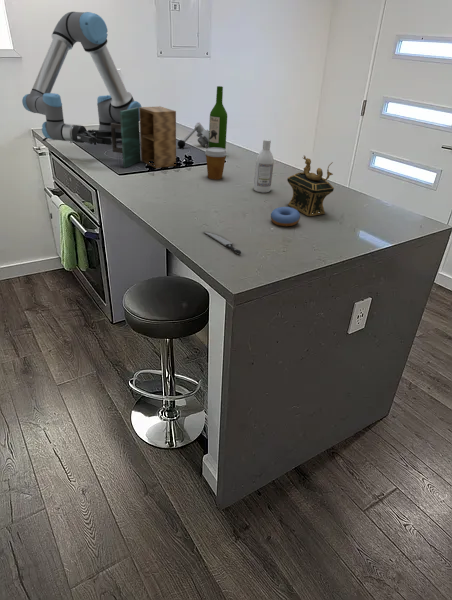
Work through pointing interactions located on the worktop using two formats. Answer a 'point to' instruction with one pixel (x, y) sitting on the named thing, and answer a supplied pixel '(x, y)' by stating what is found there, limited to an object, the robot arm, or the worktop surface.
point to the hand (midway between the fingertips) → (118, 138)
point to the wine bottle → (218, 122)
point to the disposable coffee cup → (215, 162)
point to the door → (128, 136)
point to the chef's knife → (223, 242)
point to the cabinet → (158, 136)
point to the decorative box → (309, 190)
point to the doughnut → (285, 216)
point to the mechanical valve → (200, 133)
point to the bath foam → (264, 168)
